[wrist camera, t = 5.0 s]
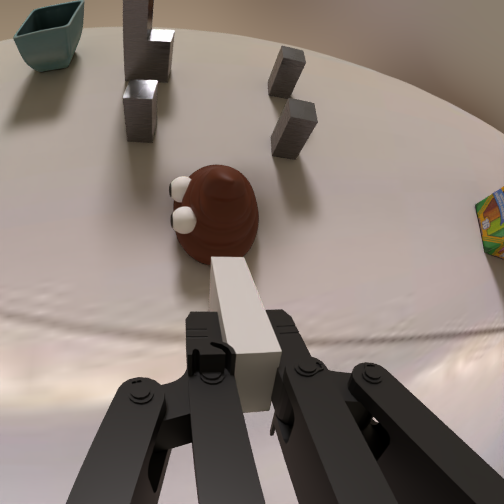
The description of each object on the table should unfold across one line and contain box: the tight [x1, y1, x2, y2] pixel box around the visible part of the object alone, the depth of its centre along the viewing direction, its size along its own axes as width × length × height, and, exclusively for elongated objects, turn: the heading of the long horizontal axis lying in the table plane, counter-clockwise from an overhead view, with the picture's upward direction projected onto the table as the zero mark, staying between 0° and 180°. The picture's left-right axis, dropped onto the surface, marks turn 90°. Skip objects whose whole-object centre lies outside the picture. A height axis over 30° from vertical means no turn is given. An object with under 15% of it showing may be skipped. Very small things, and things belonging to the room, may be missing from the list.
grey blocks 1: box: [146, 29, 306, 99], centre depth 37 cm, size 3×20×7 cm, turn 91°
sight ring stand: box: [123, 0, 154, 81], centre depth 30 cm, size 6×16×19 cm, turn 91°
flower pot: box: [13, 0, 84, 72], centre depth 32 cm, size 9×9×9 cm
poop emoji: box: [169, 165, 259, 265], centre depth 28 cm, size 10×8×9 cm
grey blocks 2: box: [123, 79, 318, 160], centre depth 33 cm, size 3×20×7 cm, turn 90°
